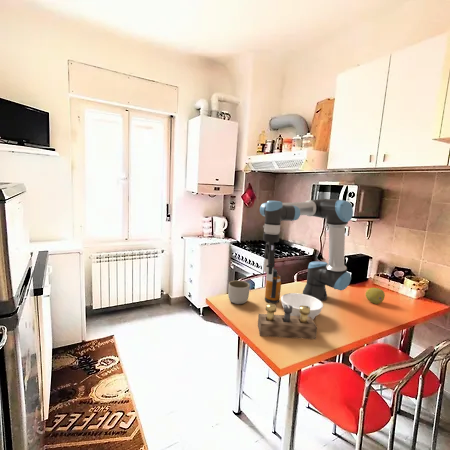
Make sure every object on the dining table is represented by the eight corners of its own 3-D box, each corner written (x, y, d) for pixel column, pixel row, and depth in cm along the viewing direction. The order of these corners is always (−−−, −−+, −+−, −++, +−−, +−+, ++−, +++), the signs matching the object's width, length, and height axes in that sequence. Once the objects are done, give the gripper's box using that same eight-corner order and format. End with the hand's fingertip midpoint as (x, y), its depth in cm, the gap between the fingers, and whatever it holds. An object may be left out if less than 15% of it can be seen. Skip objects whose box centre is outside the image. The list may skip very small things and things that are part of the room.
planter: (244, 296, 170) (245, 280, 168) (251, 305, 158) (252, 287, 157) (225, 297, 166) (226, 280, 165) (231, 306, 155) (232, 288, 153)
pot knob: (289, 323, 132) (291, 304, 131) (291, 327, 128) (293, 308, 127) (281, 322, 132) (283, 303, 131) (283, 326, 128) (284, 307, 127)
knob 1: (273, 321, 132) (275, 303, 131) (275, 326, 128) (277, 308, 126) (264, 321, 132) (265, 303, 131) (265, 326, 128) (267, 307, 126)
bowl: (276, 305, 161) (277, 291, 160) (314, 307, 160) (316, 294, 159) (283, 324, 138) (285, 308, 137) (327, 327, 138) (329, 311, 137)
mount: (309, 328, 135) (310, 317, 135) (315, 339, 125) (317, 327, 125) (257, 324, 136) (258, 313, 135) (259, 335, 126) (260, 323, 125)
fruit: (387, 305, 171) (389, 290, 169) (374, 306, 167) (376, 291, 166) (373, 298, 180) (375, 284, 179) (361, 300, 177) (363, 285, 175)
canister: (278, 298, 170) (281, 267, 167) (280, 306, 159) (283, 273, 157) (264, 297, 171) (266, 266, 168) (265, 304, 160) (267, 272, 157)
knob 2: (306, 324, 132) (308, 305, 131) (309, 329, 128) (311, 310, 126) (296, 323, 132) (298, 305, 131) (299, 328, 128) (301, 309, 126)
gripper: (261, 228, 142) (257, 267, 145) (266, 236, 117) (262, 284, 120) (275, 229, 141) (271, 269, 144) (283, 238, 117) (279, 285, 120)
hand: (267, 275), depth 132 cm, fingers open, 13 cm apart
